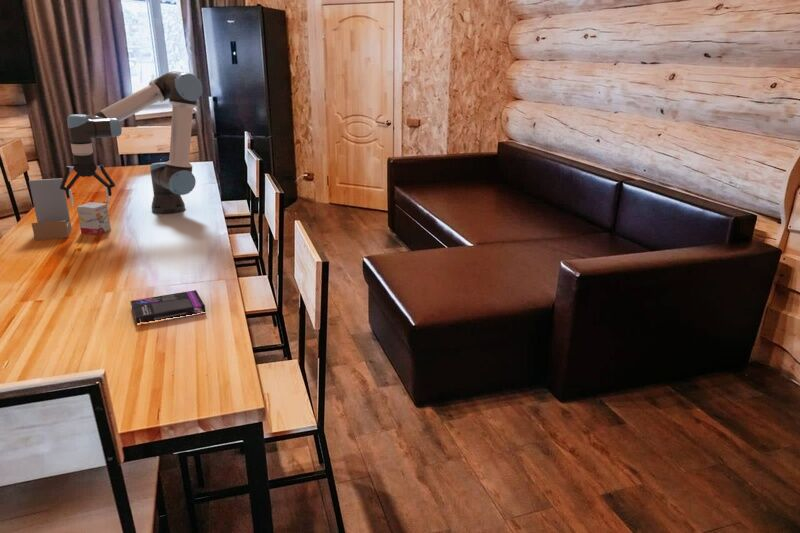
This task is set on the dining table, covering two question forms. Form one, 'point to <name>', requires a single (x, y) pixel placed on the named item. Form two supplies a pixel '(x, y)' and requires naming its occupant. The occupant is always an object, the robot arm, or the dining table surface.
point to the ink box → (93, 218)
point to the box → (167, 306)
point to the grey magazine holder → (50, 209)
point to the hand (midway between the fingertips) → (90, 204)
